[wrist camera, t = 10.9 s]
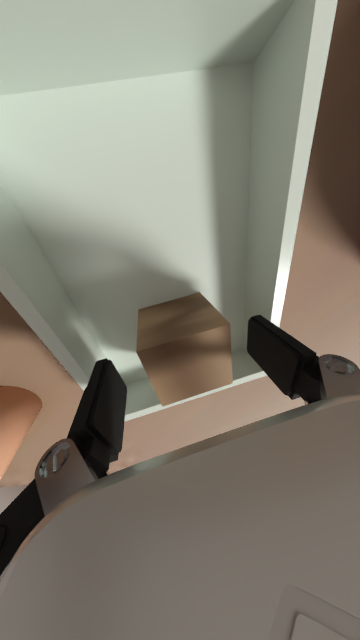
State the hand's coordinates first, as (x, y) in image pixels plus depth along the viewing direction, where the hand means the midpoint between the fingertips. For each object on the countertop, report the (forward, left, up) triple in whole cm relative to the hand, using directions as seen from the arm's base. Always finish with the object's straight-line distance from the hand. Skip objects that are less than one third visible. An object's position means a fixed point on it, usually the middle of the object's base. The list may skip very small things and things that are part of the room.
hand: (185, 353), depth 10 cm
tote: (0, -4, -4) cm, 6 cm away
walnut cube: (0, 0, -3) cm, 4 cm away
